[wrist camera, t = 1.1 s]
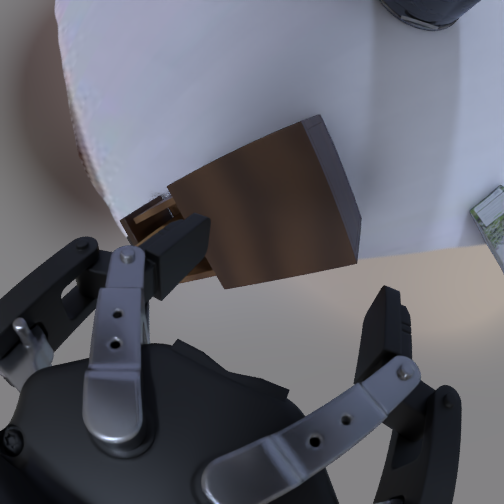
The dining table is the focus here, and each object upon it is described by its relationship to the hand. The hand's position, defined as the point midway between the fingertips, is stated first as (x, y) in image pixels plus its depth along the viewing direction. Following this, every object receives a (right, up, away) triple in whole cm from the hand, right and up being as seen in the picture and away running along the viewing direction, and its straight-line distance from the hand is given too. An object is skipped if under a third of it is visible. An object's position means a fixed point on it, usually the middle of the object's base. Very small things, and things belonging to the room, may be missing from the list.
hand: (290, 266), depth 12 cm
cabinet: (+2, +8, +20) cm, 22 cm away
